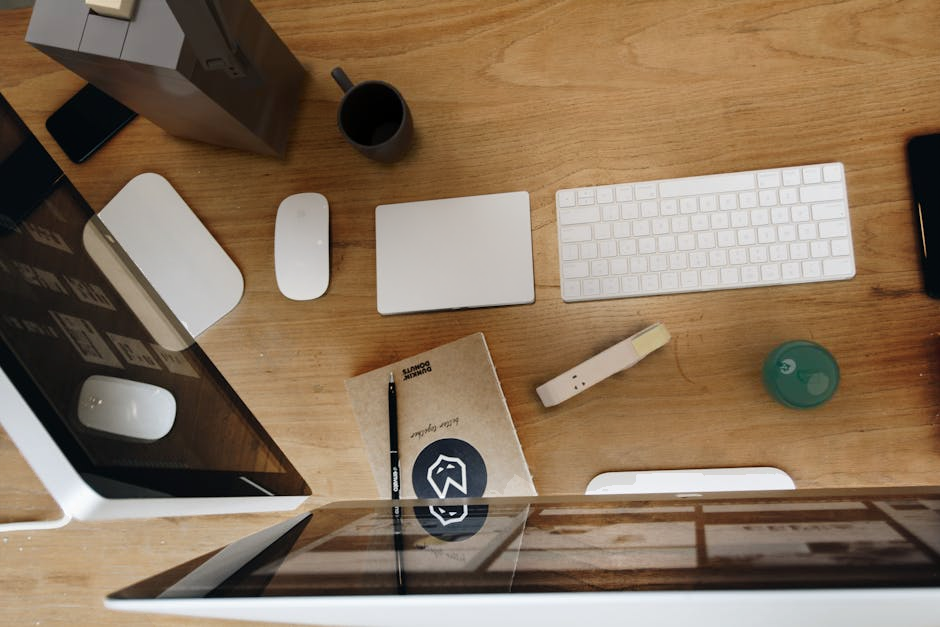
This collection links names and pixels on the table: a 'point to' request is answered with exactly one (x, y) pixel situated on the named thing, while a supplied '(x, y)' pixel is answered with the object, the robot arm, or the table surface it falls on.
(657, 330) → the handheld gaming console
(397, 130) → the mug
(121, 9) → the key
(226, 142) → the piano
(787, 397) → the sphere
